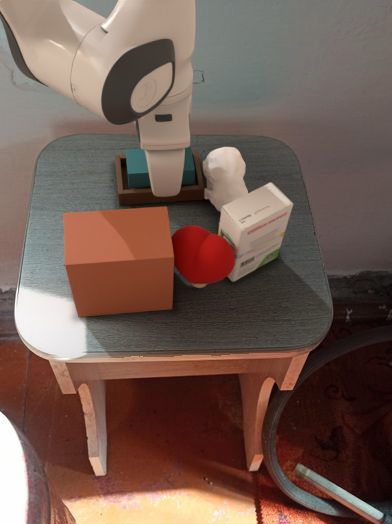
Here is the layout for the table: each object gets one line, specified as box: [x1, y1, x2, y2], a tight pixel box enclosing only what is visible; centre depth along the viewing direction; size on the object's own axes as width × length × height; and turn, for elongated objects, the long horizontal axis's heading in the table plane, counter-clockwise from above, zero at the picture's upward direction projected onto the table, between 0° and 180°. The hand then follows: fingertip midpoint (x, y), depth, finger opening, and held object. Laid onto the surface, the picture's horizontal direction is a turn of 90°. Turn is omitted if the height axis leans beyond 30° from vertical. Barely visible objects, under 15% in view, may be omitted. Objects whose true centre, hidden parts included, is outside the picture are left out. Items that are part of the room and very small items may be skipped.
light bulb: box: [171, 224, 235, 289], centre depth 76 cm, size 9×7×10 cm
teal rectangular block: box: [125, 145, 195, 188], centre depth 86 cm, size 10×5×3 cm, turn 97°
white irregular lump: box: [202, 146, 249, 225], centre depth 84 cm, size 6×8×12 cm
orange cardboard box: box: [62, 206, 175, 318], centre depth 74 cm, size 13×8×12 cm, turn 97°
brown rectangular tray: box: [114, 150, 205, 206], centre depth 88 cm, size 13×8×2 cm, turn 97°
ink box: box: [217, 182, 294, 283], centre depth 78 cm, size 8×5×12 cm, turn 125°
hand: (159, 171), depth 87 cm, fingers closed on teal rectangular block, 5 cm apart
